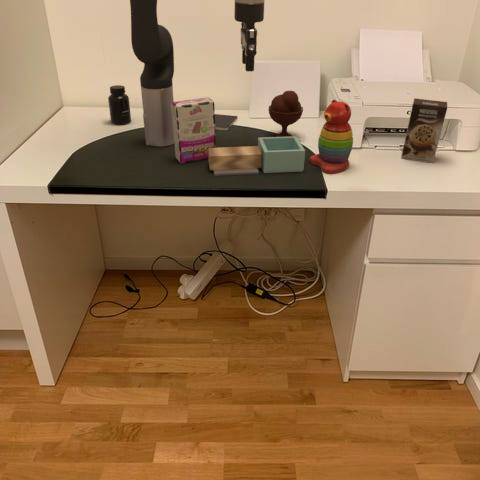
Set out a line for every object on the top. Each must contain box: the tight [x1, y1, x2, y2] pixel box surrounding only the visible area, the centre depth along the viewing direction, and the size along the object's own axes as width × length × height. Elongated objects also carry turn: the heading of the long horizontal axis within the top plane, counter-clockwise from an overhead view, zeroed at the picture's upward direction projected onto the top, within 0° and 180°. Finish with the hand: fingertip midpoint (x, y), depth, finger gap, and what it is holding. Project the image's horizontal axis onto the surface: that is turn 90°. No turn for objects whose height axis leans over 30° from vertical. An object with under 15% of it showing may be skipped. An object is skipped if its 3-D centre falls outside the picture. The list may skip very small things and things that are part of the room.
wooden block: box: [207, 145, 262, 171], centre depth 129 cm, size 14×6×4 cm, turn 97°
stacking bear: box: [308, 99, 354, 175], centre depth 128 cm, size 11×10×18 cm
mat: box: [212, 168, 260, 177], centre depth 131 cm, size 12×11×1 cm
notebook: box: [215, 113, 238, 131], centre depth 163 cm, size 13×2×21 cm
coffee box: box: [400, 97, 448, 163], centre depth 134 cm, size 9×6×16 cm
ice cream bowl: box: [268, 90, 304, 137], centre depth 147 cm, size 11×11×15 cm
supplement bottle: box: [107, 84, 132, 126], centre depth 158 cm, size 7×7×12 cm
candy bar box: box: [171, 97, 217, 164], centre depth 131 cm, size 11×5×16 cm, turn 115°
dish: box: [257, 135, 306, 174], centre depth 131 cm, size 11×11×6 cm
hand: (247, 67), depth 127 cm, fingers open, 8 cm apart
